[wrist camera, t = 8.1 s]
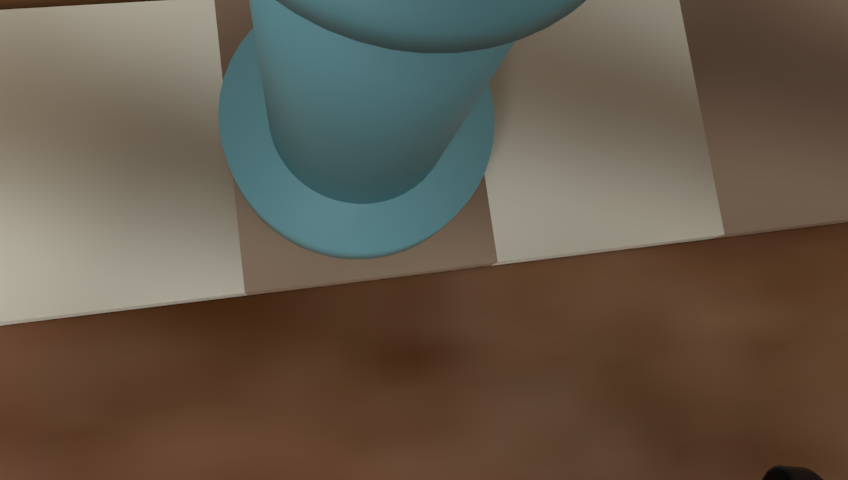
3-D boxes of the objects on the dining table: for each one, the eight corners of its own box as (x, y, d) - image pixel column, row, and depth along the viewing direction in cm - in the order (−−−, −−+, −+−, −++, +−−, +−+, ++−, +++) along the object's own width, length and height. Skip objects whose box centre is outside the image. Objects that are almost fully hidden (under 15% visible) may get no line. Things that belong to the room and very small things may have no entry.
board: (908, 214, 18) (929, 209, 17) (-25, 328, 14) (-39, 327, 14) (853, -28, 19) (871, -41, 18) (-42, 26, 15) (-56, 13, 15)
